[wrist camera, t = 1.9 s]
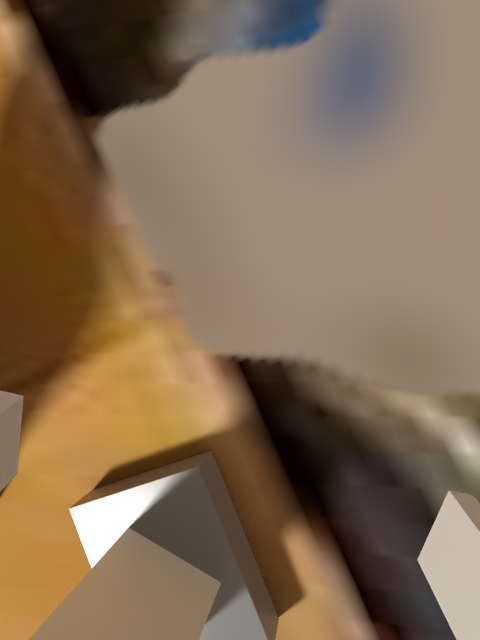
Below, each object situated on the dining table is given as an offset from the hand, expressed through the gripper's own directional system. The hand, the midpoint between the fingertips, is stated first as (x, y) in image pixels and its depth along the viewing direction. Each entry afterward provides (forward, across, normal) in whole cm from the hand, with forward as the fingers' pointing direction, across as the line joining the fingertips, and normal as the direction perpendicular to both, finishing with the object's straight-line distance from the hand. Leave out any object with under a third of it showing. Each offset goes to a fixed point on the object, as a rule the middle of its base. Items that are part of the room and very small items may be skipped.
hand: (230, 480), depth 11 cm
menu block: (+12, +1, +19) cm, 23 cm away
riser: (+15, +1, +20) cm, 25 cm away
